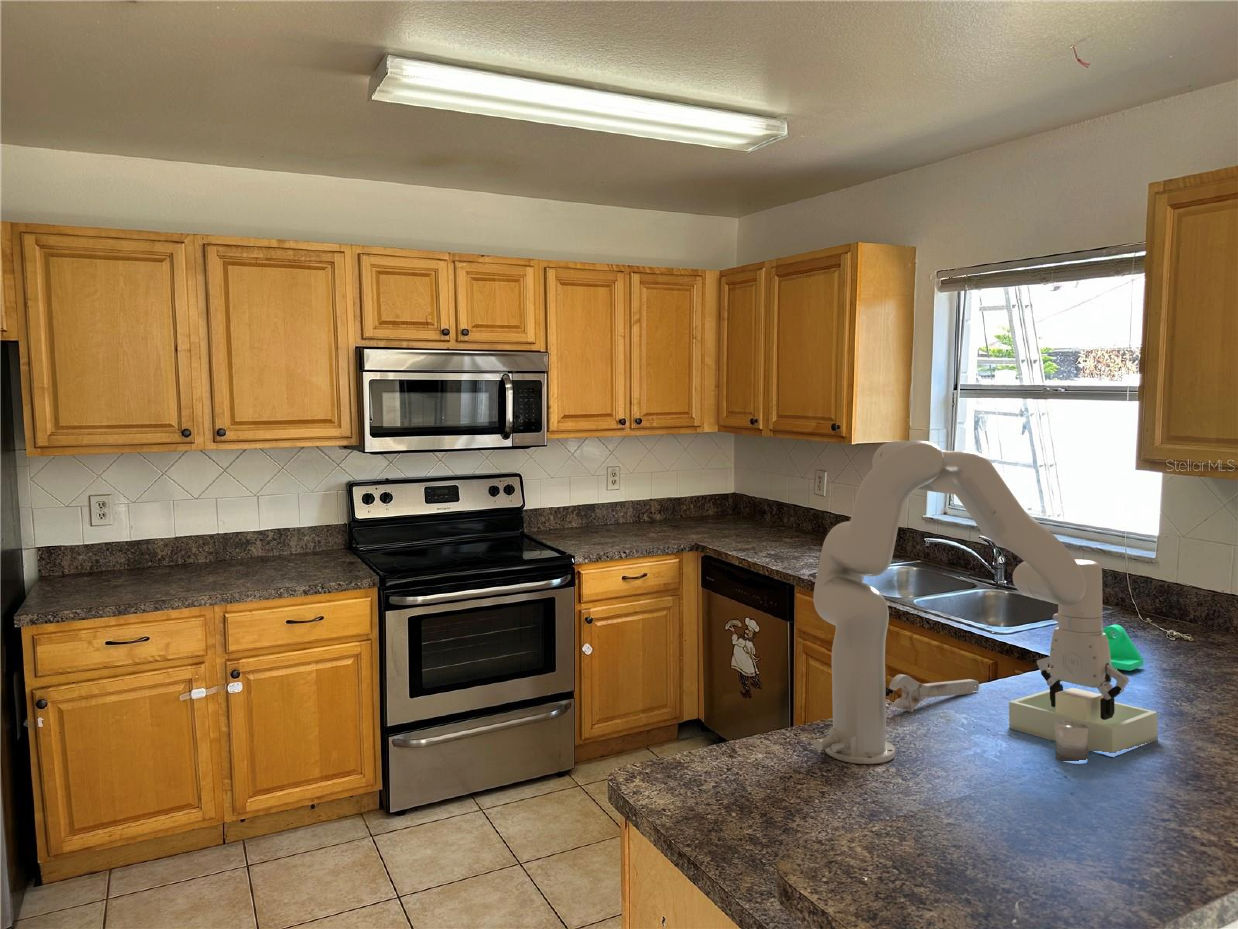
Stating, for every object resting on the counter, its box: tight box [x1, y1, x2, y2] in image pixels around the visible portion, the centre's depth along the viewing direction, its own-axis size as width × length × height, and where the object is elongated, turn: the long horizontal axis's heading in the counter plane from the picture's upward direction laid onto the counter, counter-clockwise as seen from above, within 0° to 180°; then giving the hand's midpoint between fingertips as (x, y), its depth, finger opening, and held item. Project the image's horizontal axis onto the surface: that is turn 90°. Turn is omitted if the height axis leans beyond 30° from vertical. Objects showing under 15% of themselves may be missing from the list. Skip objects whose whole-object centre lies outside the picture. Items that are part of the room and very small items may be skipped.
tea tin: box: [1054, 721, 1089, 762], centre depth 151 cm, size 5×5×6 cm
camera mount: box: [1103, 624, 1144, 671], centre depth 211 cm, size 12×8×10 cm, turn 37°
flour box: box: [1055, 687, 1104, 725], centre depth 164 cm, size 6×6×7 cm
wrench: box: [888, 673, 980, 713], centre depth 185 cm, size 8×2×30 cm
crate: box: [1008, 688, 1159, 753], centre depth 164 cm, size 16×20×5 cm
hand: (1081, 711), depth 164 cm, fingers open, 9 cm apart
